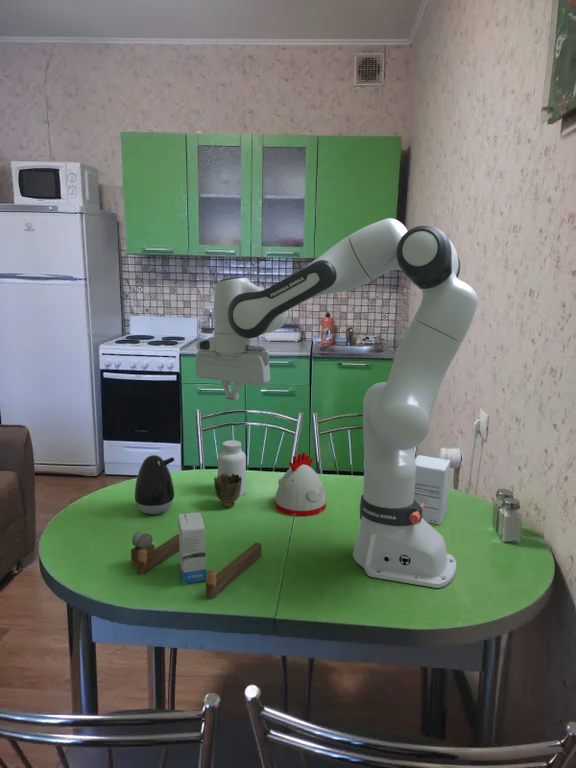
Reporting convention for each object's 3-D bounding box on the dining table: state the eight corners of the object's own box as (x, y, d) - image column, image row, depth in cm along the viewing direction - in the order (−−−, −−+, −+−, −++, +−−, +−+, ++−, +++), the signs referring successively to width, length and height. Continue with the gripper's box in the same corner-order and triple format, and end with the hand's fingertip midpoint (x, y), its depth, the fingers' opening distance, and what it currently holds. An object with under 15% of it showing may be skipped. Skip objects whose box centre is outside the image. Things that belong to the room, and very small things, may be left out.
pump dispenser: (176, 516, 143) (175, 460, 140) (134, 520, 140) (132, 463, 137) (174, 501, 152) (173, 448, 149) (135, 504, 150) (133, 450, 147)
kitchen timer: (264, 504, 151) (265, 452, 148) (301, 491, 161) (302, 442, 158) (299, 521, 141) (300, 465, 138) (336, 507, 150) (338, 454, 147)
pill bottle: (230, 500, 153) (230, 449, 150) (212, 492, 158) (211, 442, 155) (251, 492, 159) (251, 443, 156) (232, 485, 164) (232, 436, 161)
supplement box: (414, 505, 152) (417, 454, 149) (447, 512, 148) (451, 459, 145) (406, 518, 144) (409, 464, 141) (440, 525, 140) (445, 470, 137)
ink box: (206, 581, 113) (206, 528, 111) (182, 584, 112) (181, 531, 109) (201, 560, 121) (201, 510, 119) (178, 563, 120) (177, 513, 118)
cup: (244, 501, 153) (244, 473, 151) (239, 512, 146) (239, 483, 144) (217, 499, 154) (217, 472, 152) (211, 510, 147) (211, 482, 145)
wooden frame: (261, 556, 124) (262, 526, 122) (212, 599, 107) (212, 565, 106) (182, 533, 134) (182, 505, 132) (126, 569, 117) (125, 538, 116)
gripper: (275, 345, 134) (274, 401, 136) (206, 339, 143) (206, 391, 146) (262, 348, 128) (261, 406, 131) (191, 342, 137) (191, 396, 140)
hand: (232, 398), depth 138 cm, fingers closed
